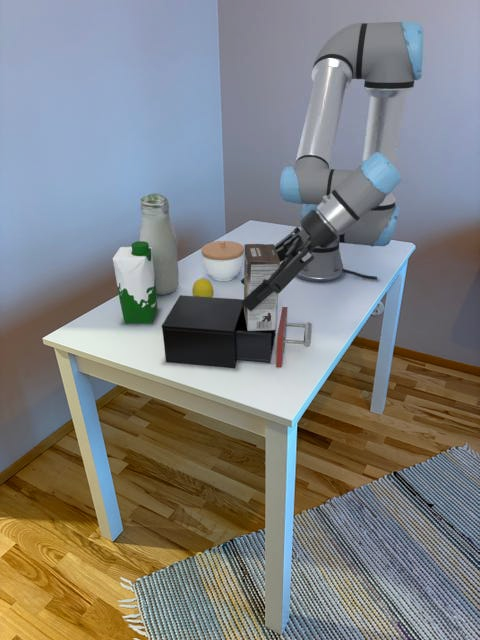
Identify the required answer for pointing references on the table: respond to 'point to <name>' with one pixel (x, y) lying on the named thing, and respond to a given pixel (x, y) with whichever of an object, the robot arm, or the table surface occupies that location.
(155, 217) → the glass bottle
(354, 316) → the table surface
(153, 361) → the table surface
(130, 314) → the milk carton
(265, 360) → the drawer
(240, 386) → the table surface
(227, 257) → the lidded bowl
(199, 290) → the lemon
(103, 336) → the table surface
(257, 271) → the coffee box
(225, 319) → the cabinet
